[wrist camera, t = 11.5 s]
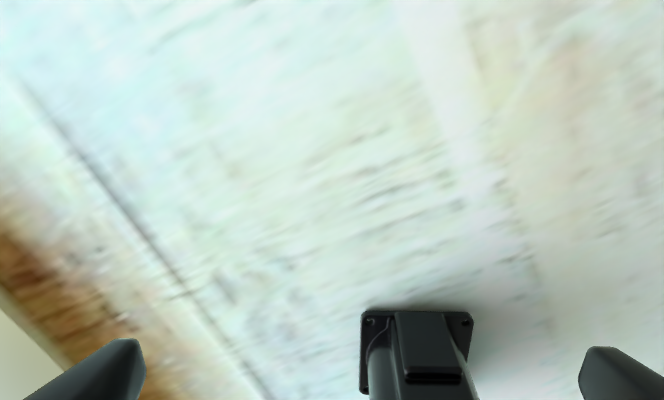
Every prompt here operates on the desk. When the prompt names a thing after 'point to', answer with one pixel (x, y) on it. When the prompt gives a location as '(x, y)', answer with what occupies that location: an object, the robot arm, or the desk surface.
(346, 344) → the desk surface
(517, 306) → the desk surface
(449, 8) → the desk surface
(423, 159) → the desk surface
